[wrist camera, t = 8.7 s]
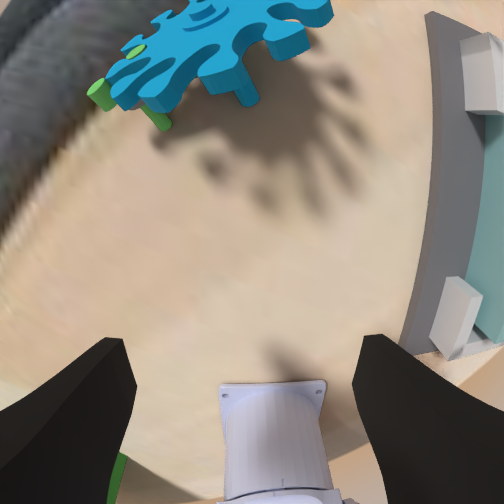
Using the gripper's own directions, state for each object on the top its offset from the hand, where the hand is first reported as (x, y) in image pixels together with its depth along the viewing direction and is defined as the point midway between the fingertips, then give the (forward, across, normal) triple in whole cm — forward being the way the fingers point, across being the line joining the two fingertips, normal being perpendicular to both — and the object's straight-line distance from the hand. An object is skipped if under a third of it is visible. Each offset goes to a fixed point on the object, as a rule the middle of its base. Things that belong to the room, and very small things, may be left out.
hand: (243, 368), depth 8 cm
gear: (+10, +2, -11) cm, 15 cm away
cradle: (+9, -17, -4) cm, 20 cm away
